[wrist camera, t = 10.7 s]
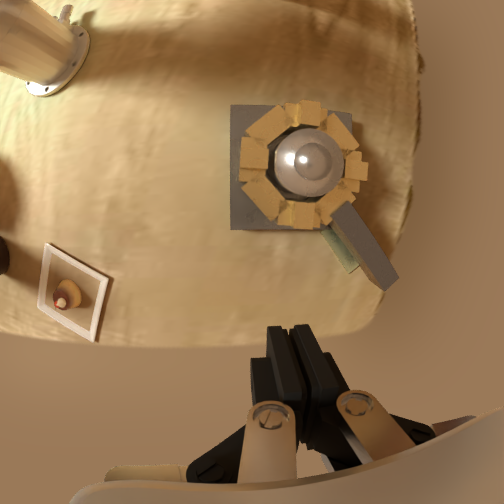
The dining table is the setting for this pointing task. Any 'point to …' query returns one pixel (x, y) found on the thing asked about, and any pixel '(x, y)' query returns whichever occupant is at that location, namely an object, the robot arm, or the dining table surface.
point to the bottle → (3, 257)
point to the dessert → (69, 293)
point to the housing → (288, 172)
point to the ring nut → (321, 207)
